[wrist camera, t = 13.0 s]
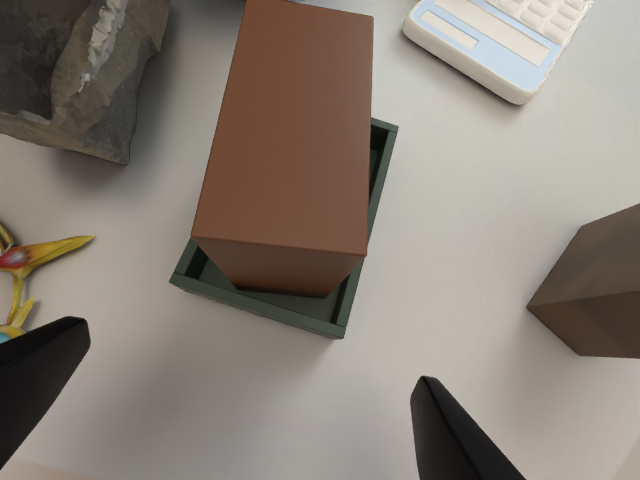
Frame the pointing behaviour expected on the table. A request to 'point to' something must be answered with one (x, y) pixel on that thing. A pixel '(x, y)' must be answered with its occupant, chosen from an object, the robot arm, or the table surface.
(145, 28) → the rock
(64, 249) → the gold jeweled crown
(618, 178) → the table surface
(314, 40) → the chocolate box
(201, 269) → the green tray
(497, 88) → the calculator
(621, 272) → the block
